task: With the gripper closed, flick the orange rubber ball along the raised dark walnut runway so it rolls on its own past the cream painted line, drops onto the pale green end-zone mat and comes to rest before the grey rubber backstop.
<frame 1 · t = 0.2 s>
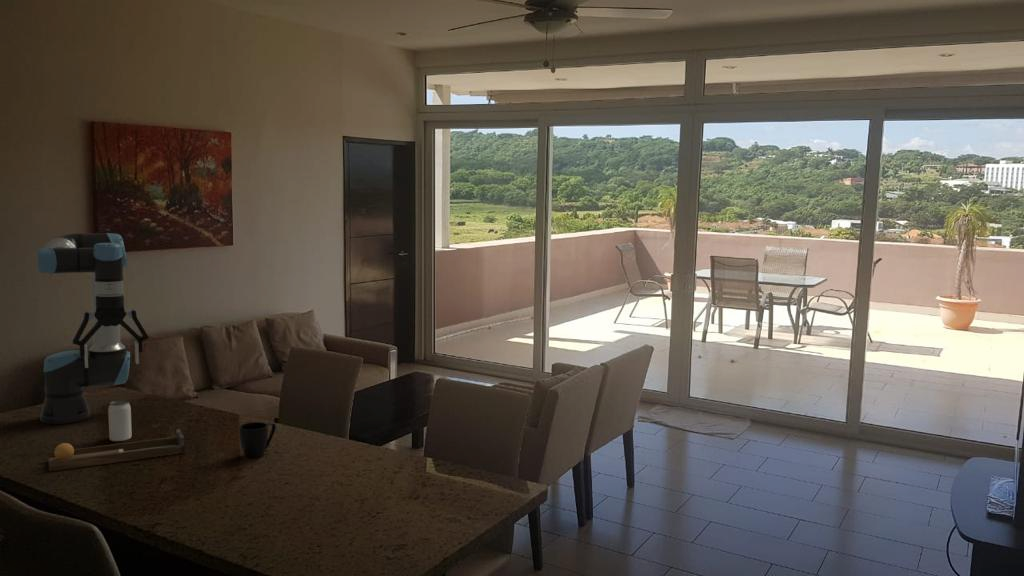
hand: (112, 365, 236), 28 cm above the table, fingers open, 13 cm apart
mug: (259, 455, 242), on the table
ball: (64, 451, 229), point 4 cm above the table, touching lane
can: (120, 439, 254), on the table
lane: (118, 457, 237), on the table
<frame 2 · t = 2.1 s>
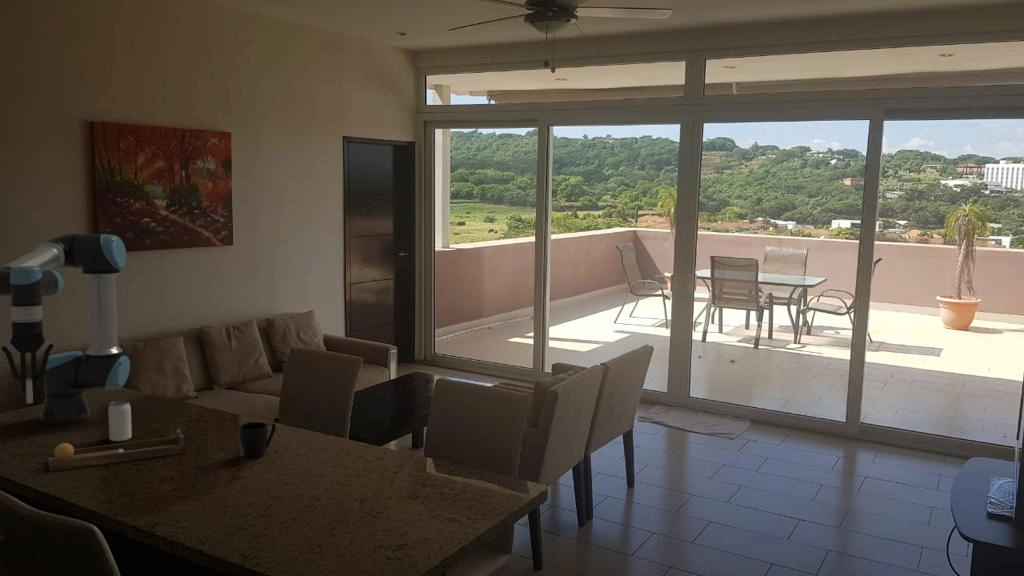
hand: (29, 402, 225), 19 cm above the table, fingers closed
nothing on the table moved.
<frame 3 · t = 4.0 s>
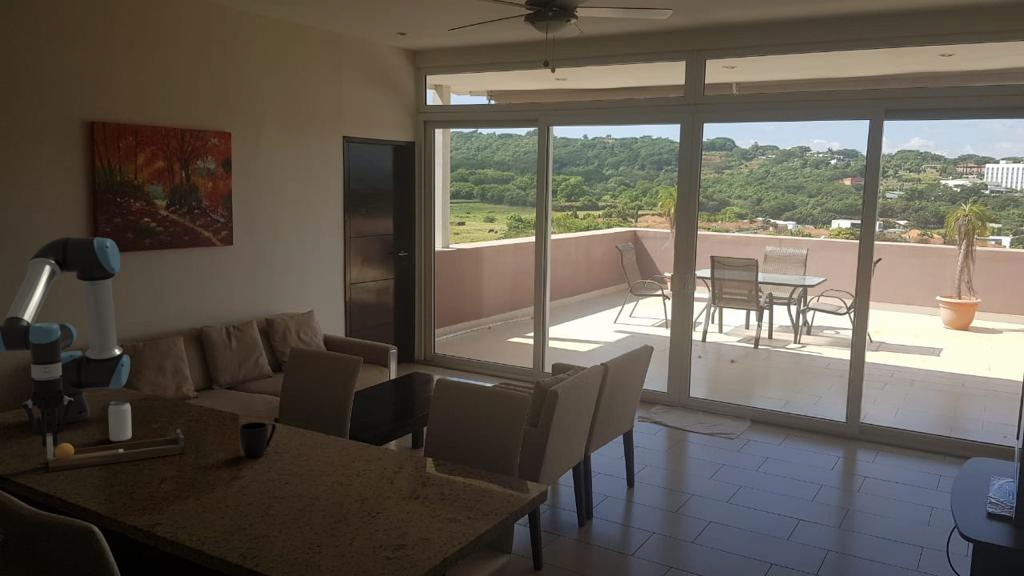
hand: (50, 456, 228), 3 cm above the table, fingers closed
nothing on the table moved.
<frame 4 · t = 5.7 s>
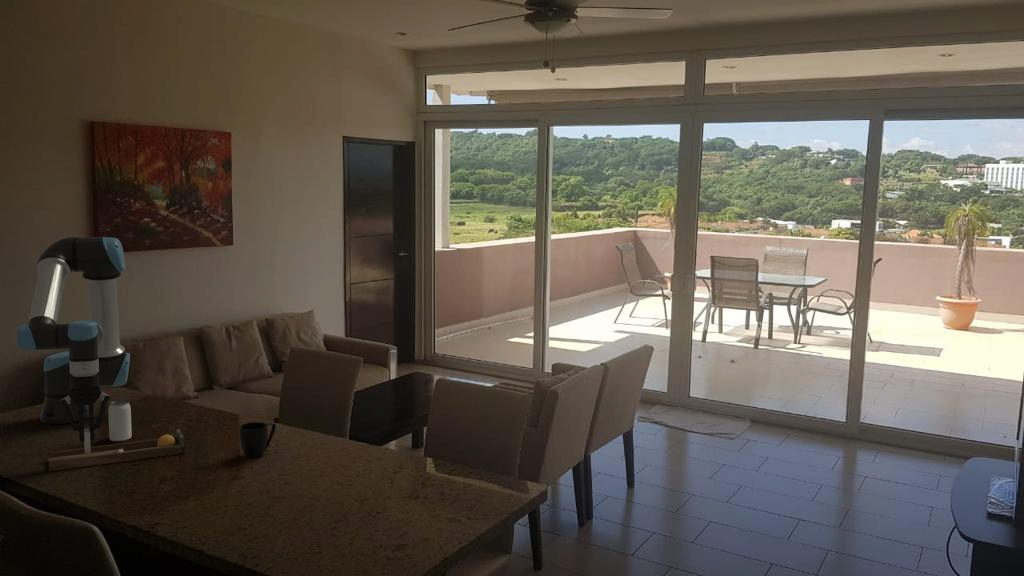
hand: (87, 451, 232), 3 cm above the table, fingers closed
ball: (166, 442, 242), point 3 cm above the table, tilted 89°, touching lane
everything else where it was.
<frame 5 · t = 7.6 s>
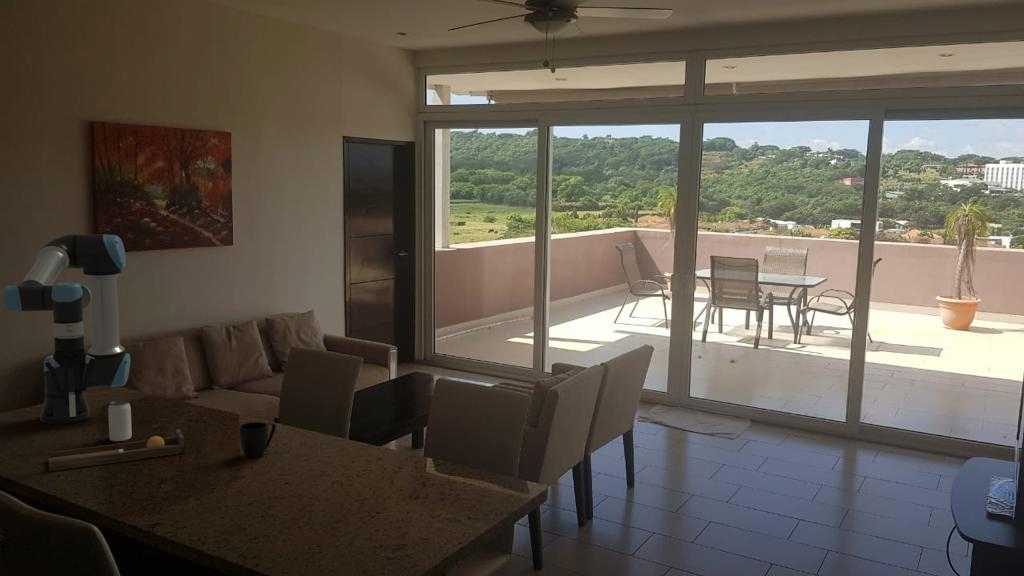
hand: (72, 415, 230), 14 cm above the table, fingers closed
ball: (155, 444, 241), point 3 cm above the table, tilted 160°, touching lane
everything else where it was.
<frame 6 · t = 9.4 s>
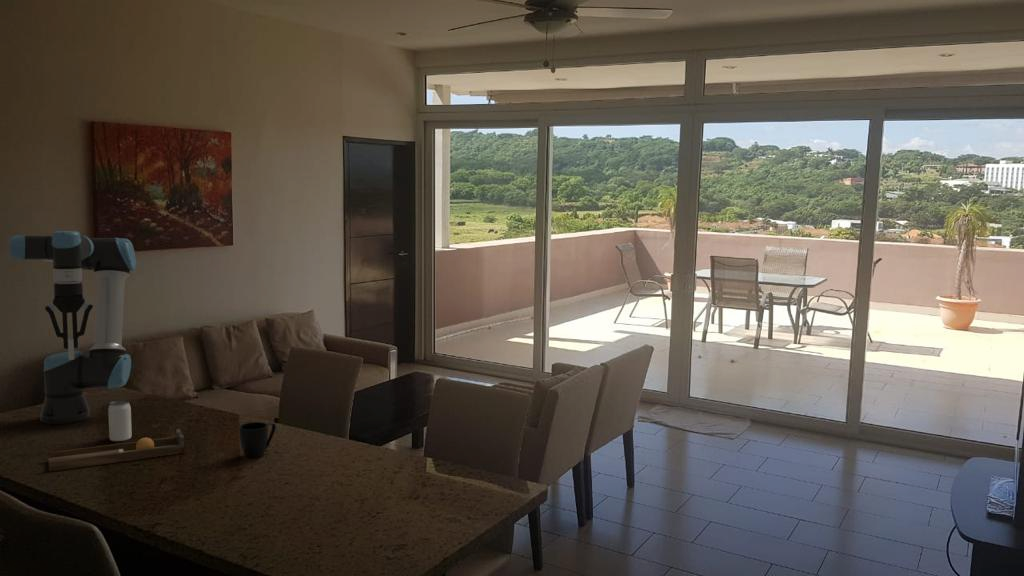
hand: (71, 358, 240), 28 cm above the table, fingers closed
ball: (145, 445, 239), point 3 cm above the table, tilted 132°, touching lane
everything else where it was.
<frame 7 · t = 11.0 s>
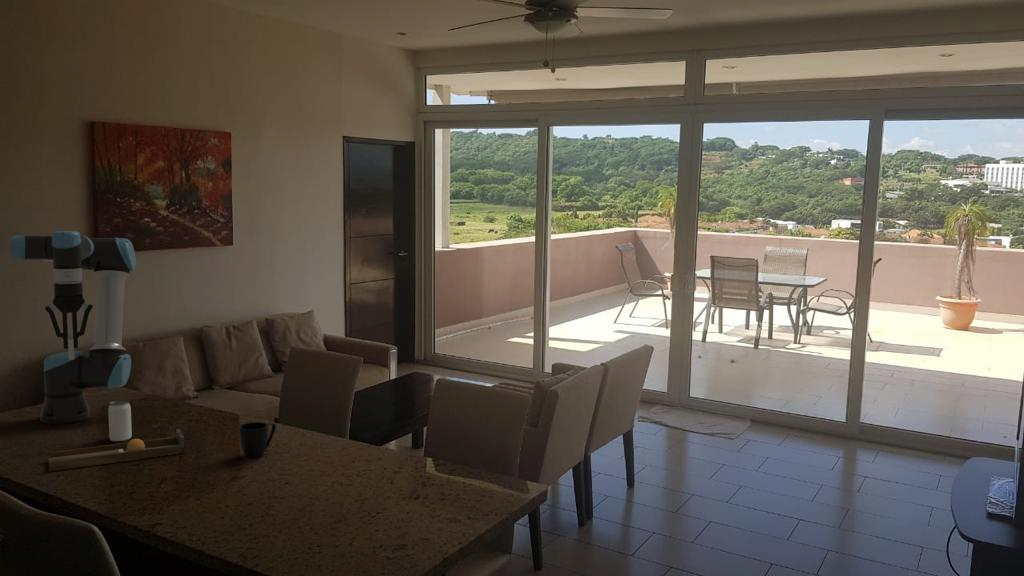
hand: (71, 358, 240), 28 cm above the table, fingers closed
ball: (135, 447, 238), point 3 cm above the table, tilted 72°, touching lane
everything else where it was.
at the end: ball inside the target area on the lane (5.8 cm from its centre), point 2.8 cm above the lane's base; ball moved 18.7 cm from its start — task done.
